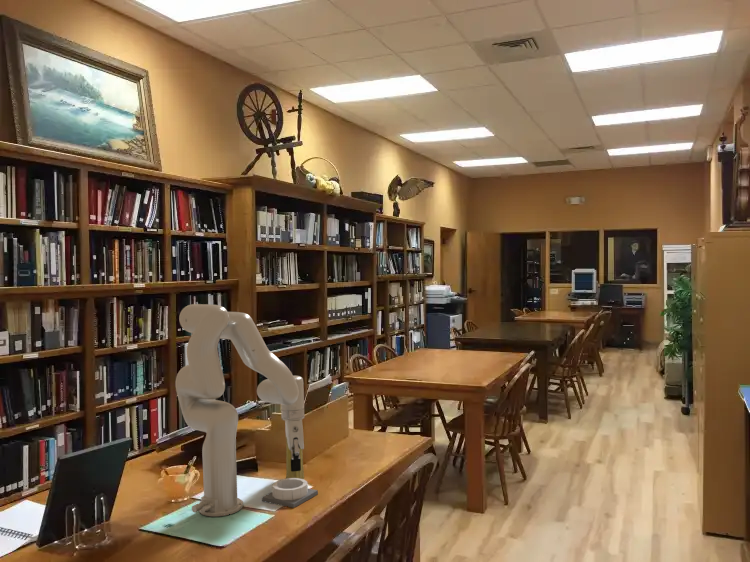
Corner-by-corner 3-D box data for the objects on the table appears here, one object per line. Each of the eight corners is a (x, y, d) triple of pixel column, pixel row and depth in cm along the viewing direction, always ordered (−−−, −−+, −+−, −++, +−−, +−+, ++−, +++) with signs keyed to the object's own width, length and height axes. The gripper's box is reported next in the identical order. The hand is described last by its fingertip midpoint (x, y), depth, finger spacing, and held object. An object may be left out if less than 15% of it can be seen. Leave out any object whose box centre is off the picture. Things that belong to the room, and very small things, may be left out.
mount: (293, 507, 182) (293, 493, 181) (262, 501, 188) (261, 487, 187) (317, 494, 192) (317, 480, 192) (287, 488, 198) (286, 475, 198)
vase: (295, 483, 202) (293, 439, 202) (281, 479, 206) (280, 436, 205) (308, 477, 207) (306, 435, 207) (294, 474, 211) (293, 432, 210)
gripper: (308, 418, 198) (309, 474, 199) (300, 407, 215) (302, 459, 216) (284, 420, 197) (286, 477, 197) (278, 409, 213) (280, 461, 214)
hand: (294, 467), depth 206 cm, fingers closed on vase, 5 cm apart
